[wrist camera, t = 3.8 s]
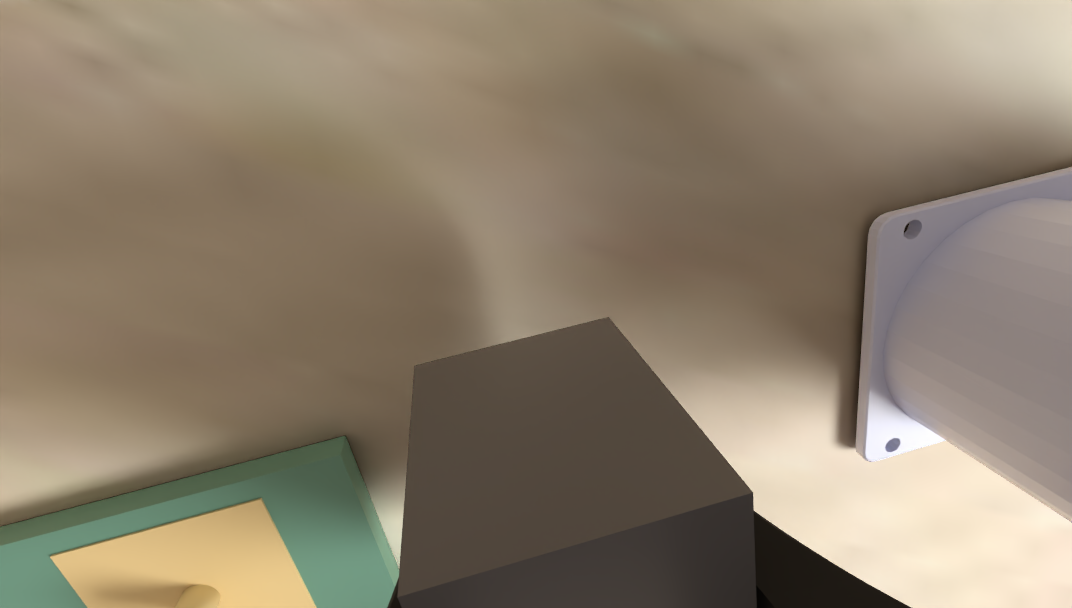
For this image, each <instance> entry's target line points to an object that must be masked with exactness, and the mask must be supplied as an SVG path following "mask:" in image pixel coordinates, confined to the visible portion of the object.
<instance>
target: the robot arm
mask: <svg viewBox="0 0 1072 608" xmlns="http://www.w3.org/2000/svg"><path fill="white" fill-rule="evenodd" d="M908 223H909V226H908V229H907V230H906V232H905V233H904V229H905V226H906V225H907V224H908ZM945 440H946V441H948V442H949V443H951V444H952V445H954V446H955V447H957V448H958V449H960V450H962V451H963V452H965V453H966V454H968V455H969V456H971V457H972V458H974V459H975V460H977V461H978V462H980V463H982V464H983V465H985V466H986V467H988V468H989V469H991V470H992V471H994V472H995V473H997V474H998V475H1000V476H1001V477H1003V478H1005V479H1006V480H1008V481H1009V482H1011V483H1012V484H1014V485H1015V486H1017V487H1018V488H1020V489H1021V490H1023V491H1025V492H1026V493H1028V494H1029V495H1031V496H1032V497H1034V498H1035V499H1037V500H1038V501H1040V502H1041V503H1043V504H1044V505H1046V506H1048V507H1049V508H1051V509H1052V510H1054V511H1055V512H1057V513H1058V514H1060V515H1061V516H1063V517H1064V518H1066V519H1067V520H1069V521H1071V522H1072V167H1069V168H1064V169H1060V170H1056V171H1052V172H1048V173H1044V174H1040V175H1036V176H1032V177H1028V178H1024V179H1020V180H1016V181H1012V182H1008V183H1004V184H1000V185H996V186H992V187H988V188H983V189H979V190H975V191H971V192H967V193H963V194H959V195H955V196H951V197H947V198H943V199H939V200H935V201H931V202H927V203H923V204H919V205H915V206H911V207H907V208H903V209H898V210H894V211H890V212H886V213H884V214H882V215H880V216H879V217H878V218H876V219H875V220H874V222H873V223H872V225H871V227H870V229H869V233H868V245H867V262H866V279H865V295H864V312H863V329H862V346H861V363H860V380H859V396H858V413H857V430H856V452H857V453H858V454H859V455H860V456H862V457H863V458H864V459H865V460H867V461H870V462H873V461H879V460H882V459H885V458H889V457H892V456H895V455H899V454H902V453H905V452H909V451H912V450H915V449H919V448H922V447H925V446H929V445H932V444H935V443H939V442H942V441H945ZM754 540H755V569H756V599H757V608H911V607H909V606H907V605H905V604H903V603H901V602H900V601H898V600H896V599H894V598H892V597H890V596H889V595H887V594H885V593H883V592H881V591H880V590H878V589H876V588H874V587H872V586H871V585H869V584H867V583H865V582H864V581H862V580H860V579H858V578H857V577H855V576H853V575H852V574H850V573H848V572H847V571H845V570H843V569H842V568H840V567H838V566H837V565H835V564H833V563H832V562H830V561H828V560H827V559H825V558H824V557H822V556H821V555H819V554H817V553H816V552H814V551H813V550H811V549H809V548H808V547H806V546H805V545H803V544H802V543H800V542H799V541H797V540H796V539H794V538H792V537H791V536H789V535H788V534H786V533H785V532H783V531H782V530H781V529H779V528H778V527H776V526H775V525H773V524H772V523H771V522H769V521H768V520H766V519H765V518H763V517H762V516H760V515H759V514H758V513H756V512H755V511H754ZM398 583H399V578H398V580H397V583H396V586H395V588H394V591H393V594H392V596H391V599H390V602H389V604H388V607H387V608H402V607H401V605H400V602H399V600H398V597H397V596H398Z"/></svg>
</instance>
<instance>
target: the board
mask: <svg viewBox="0 0 1072 608" xmlns="http://www.w3.org/2000/svg"><path fill="white" fill-rule="evenodd" d="M398 578H399V569H398V566H397V564H396V561H395V559H394V556H393V554H392V551H391V548H390V546H389V543H388V541H387V538H386V536H385V533H384V531H383V528H382V526H381V523H380V521H379V518H378V516H377V513H376V511H375V508H374V506H373V503H372V501H371V498H370V496H369V493H368V491H367V488H366V486H365V483H364V481H363V478H362V476H361V473H360V471H359V468H358V466H357V463H356V461H355V458H354V456H353V453H352V451H351V448H350V446H349V443H348V441H347V438H346V436H342V437H339V438H335V439H331V440H327V441H323V442H320V443H316V444H312V445H308V446H305V447H301V448H297V449H293V450H289V451H286V452H282V453H278V454H274V455H270V456H267V457H263V458H259V459H255V460H252V461H248V462H244V463H240V464H236V465H233V466H229V467H225V468H221V469H217V470H214V471H210V472H206V473H202V474H199V475H195V476H191V477H187V478H183V479H180V480H176V481H172V482H168V483H165V484H161V485H157V486H153V487H149V488H146V489H142V490H138V491H134V492H130V493H127V494H123V495H119V496H115V497H112V498H108V499H104V500H100V501H96V502H93V503H89V504H85V505H81V506H78V507H74V508H70V509H66V510H62V511H59V512H55V513H51V514H47V515H43V516H40V517H36V518H32V519H28V520H25V521H21V522H17V523H13V524H9V525H6V526H2V527H0V608H387V607H388V604H389V602H390V599H391V596H392V594H393V591H394V588H395V586H396V583H397V580H398Z"/></svg>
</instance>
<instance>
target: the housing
mask: <svg viewBox="0 0 1072 608" xmlns="http://www.w3.org/2000/svg"><path fill="white" fill-rule="evenodd" d="M397 597H398V600H399V602H400V605H401V607H402V608H757V599H756V569H755V540H754V510H753V492H752V491H751V490H750V488H749V487H748V486H747V485H746V484H745V482H744V481H743V480H742V479H741V477H740V476H739V475H738V474H737V473H736V471H735V470H734V469H733V468H732V467H731V465H730V464H729V463H728V462H727V460H726V459H725V458H724V457H723V456H722V454H721V453H720V452H719V451H718V450H717V448H716V447H715V446H714V445H713V443H712V442H711V441H710V440H709V439H708V437H707V436H706V435H705V434H704V433H703V431H702V430H701V429H700V428H699V426H698V425H697V424H696V423H695V422H694V420H693V419H692V418H691V417H690V416H689V414H688V413H687V412H686V411H685V409H684V408H683V407H682V406H681V405H680V403H679V402H678V401H677V400H676V399H675V397H674V396H673V395H672V394H671V392H670V391H669V390H668V389H667V388H666V386H665V385H664V384H663V383H662V382H661V380H660V379H659V378H658V377H657V376H656V374H655V373H654V372H653V371H652V369H651V368H650V367H649V366H648V365H647V363H646V362H645V361H644V360H643V359H642V357H641V356H640V355H639V354H638V352H637V351H636V350H635V349H634V348H633V346H632V345H631V344H630V343H629V342H628V340H627V339H626V338H625V337H624V335H623V334H622V333H621V332H620V331H619V329H618V328H617V327H616V326H615V325H614V323H613V322H612V321H611V320H610V318H609V317H607V318H603V319H599V320H595V321H591V322H587V323H583V324H579V325H575V326H571V327H567V328H563V329H559V330H555V331H551V332H547V333H543V334H539V335H535V336H531V337H527V338H523V339H519V340H515V341H511V342H507V343H503V344H499V345H495V346H491V347H487V348H483V349H479V350H475V351H471V352H467V353H464V354H460V355H456V356H452V357H448V358H444V359H440V360H436V361H432V362H428V363H424V364H420V365H416V366H415V367H414V380H413V394H412V407H411V421H410V434H409V448H408V461H407V475H406V488H405V502H404V515H403V529H402V542H401V556H400V569H399V583H398V596H397Z"/></svg>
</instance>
